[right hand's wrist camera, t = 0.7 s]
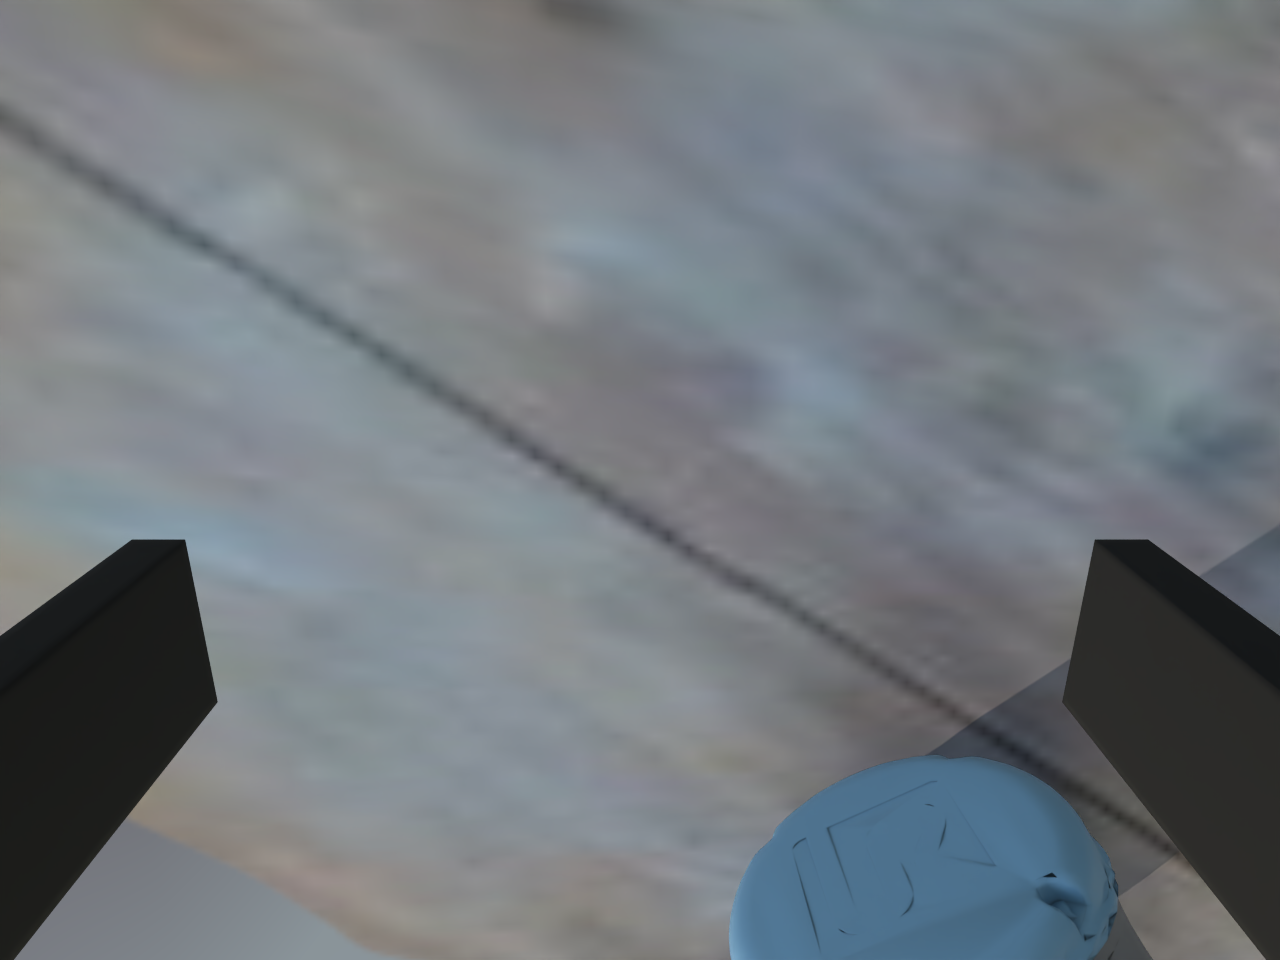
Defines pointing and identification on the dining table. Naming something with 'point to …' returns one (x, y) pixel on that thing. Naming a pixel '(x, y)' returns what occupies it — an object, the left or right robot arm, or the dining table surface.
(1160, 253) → the dining table surface
